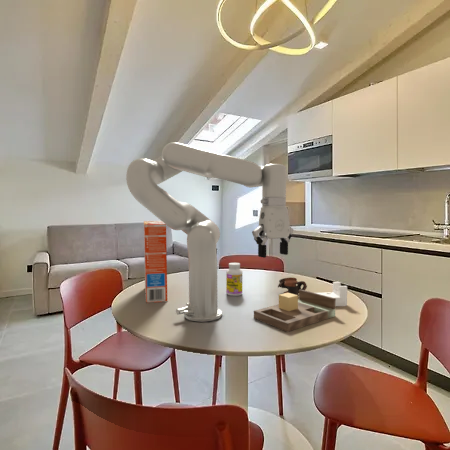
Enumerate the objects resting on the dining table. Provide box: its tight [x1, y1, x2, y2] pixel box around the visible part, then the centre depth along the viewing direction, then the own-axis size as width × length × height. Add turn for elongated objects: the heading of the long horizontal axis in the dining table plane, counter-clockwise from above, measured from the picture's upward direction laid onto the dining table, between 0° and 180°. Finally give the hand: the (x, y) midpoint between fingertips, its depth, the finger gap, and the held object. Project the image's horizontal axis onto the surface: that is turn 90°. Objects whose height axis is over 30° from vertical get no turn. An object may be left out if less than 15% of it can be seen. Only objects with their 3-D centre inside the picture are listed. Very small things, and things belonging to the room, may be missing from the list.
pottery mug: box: [277, 277, 308, 296], centre depth 142 cm, size 12×10×8 cm
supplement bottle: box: [225, 262, 243, 297], centre depth 143 cm, size 7×7×13 cm
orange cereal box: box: [143, 220, 168, 303], centre depth 143 cm, size 23×8×30 cm, turn 14°
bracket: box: [316, 281, 348, 307], centre depth 129 cm, size 13×7×8 cm, turn 95°
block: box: [278, 292, 299, 311], centre depth 116 cm, size 4×4×4 cm
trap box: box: [253, 288, 336, 333], centre depth 115 cm, size 23×15×6 cm, turn 126°
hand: (273, 255), depth 112 cm, fingers open, 9 cm apart
